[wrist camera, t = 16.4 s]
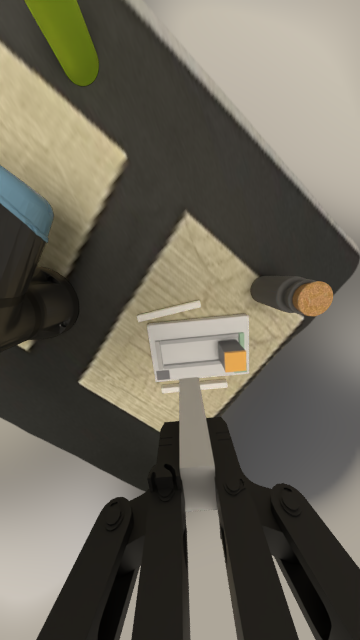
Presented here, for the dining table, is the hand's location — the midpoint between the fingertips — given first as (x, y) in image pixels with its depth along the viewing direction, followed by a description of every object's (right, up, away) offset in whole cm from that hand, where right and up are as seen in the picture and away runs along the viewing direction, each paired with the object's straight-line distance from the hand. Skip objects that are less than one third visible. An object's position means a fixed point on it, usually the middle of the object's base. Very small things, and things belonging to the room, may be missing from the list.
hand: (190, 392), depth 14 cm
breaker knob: (+10, -1, +25) cm, 27 cm away
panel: (+4, -1, +27) cm, 28 cm away
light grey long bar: (+3, -10, +30) cm, 32 cm away
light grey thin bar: (-3, +8, +25) cm, 27 cm away
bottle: (+17, +13, +24) cm, 32 cm away
